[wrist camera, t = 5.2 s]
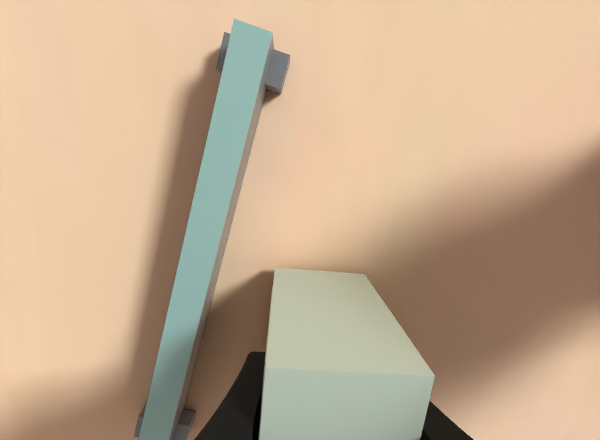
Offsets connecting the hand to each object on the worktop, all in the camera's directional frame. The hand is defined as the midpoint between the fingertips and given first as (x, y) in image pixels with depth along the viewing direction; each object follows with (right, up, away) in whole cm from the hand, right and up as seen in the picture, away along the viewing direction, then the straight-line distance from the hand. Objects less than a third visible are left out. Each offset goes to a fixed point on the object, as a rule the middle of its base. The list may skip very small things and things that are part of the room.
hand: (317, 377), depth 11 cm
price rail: (-5, +4, +2) cm, 7 cm away
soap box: (0, 0, +2) cm, 2 cm away
